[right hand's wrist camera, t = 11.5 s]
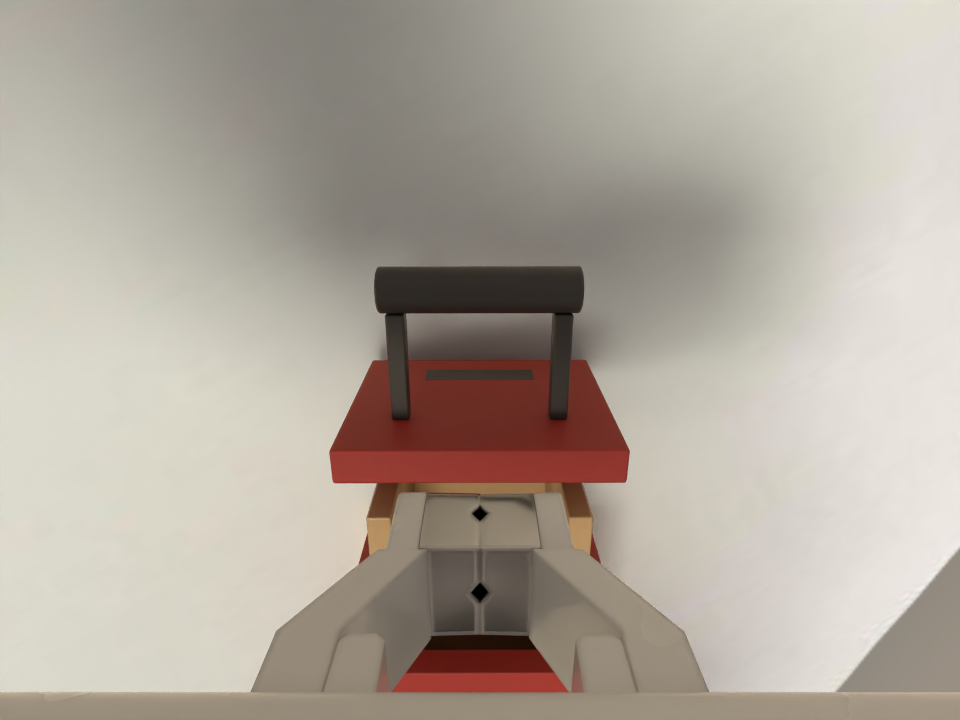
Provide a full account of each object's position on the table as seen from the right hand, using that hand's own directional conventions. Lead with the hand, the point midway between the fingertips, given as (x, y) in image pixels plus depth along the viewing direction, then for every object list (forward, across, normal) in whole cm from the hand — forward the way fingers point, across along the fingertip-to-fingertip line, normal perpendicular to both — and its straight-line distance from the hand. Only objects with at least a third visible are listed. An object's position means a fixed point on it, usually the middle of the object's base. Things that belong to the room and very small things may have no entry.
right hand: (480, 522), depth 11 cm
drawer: (+14, 0, -8) cm, 16 cm away
